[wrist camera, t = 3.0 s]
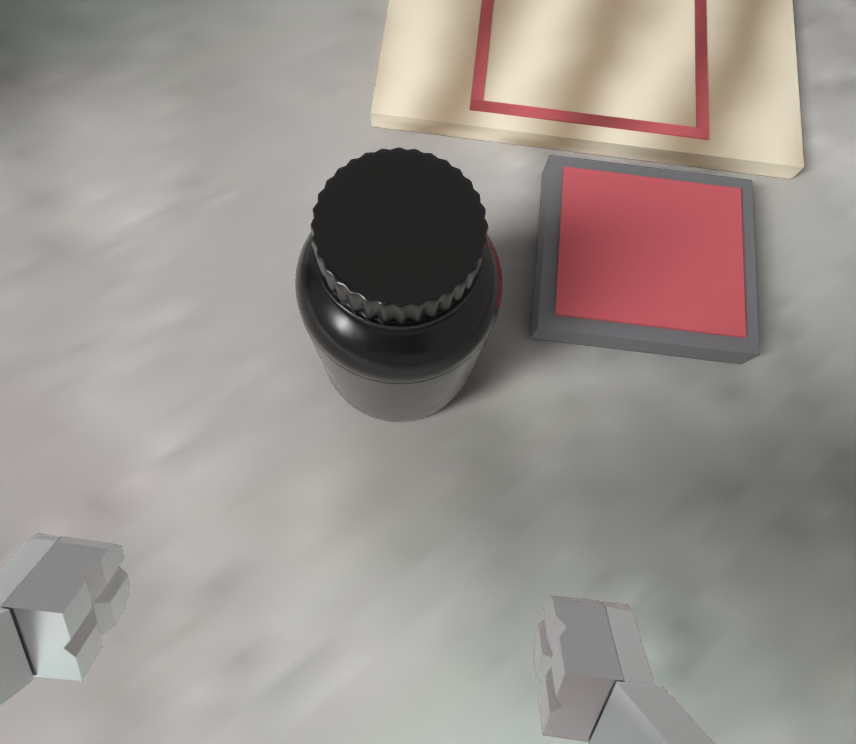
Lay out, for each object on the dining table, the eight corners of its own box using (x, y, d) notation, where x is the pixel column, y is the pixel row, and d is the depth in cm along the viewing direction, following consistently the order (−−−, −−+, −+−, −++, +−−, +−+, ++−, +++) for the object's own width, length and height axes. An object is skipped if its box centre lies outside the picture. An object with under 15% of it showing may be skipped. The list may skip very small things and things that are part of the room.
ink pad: (530, 338, 28) (538, 326, 26) (542, 172, 30) (550, 152, 28) (740, 364, 28) (761, 353, 26) (735, 197, 30) (754, 177, 28)
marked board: (371, 126, 30) (370, 111, 29) (405, -77, 34) (405, -97, 33) (791, 178, 30) (805, 166, 29) (778, -29, 34) (790, -47, 33)
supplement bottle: (294, 369, 27) (212, 243, 15) (383, 259, 28) (370, 69, 17) (417, 456, 26) (430, 394, 14) (501, 337, 27) (574, 195, 16)
